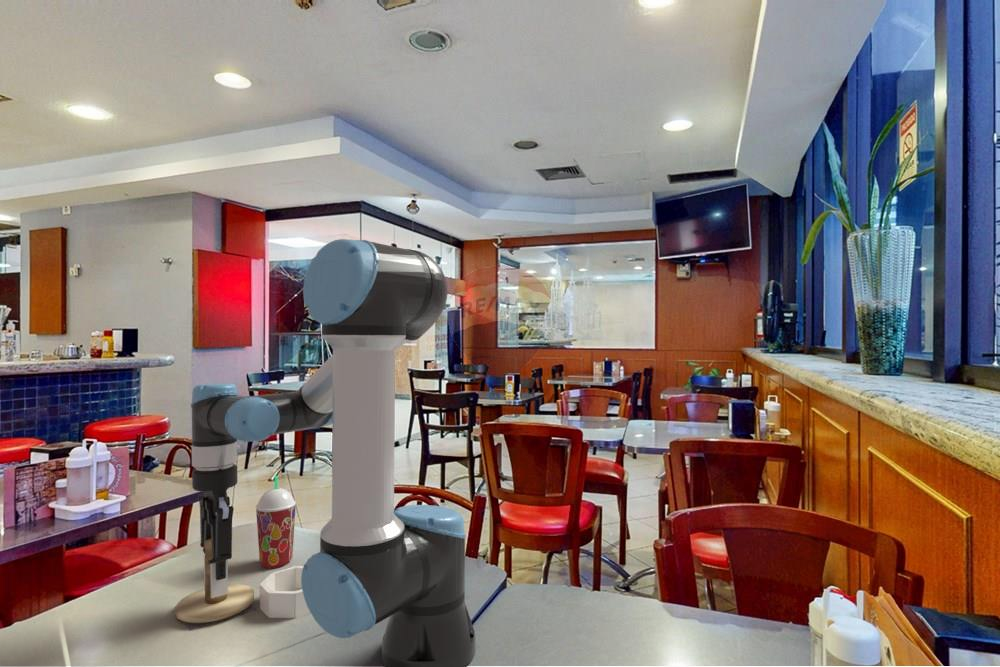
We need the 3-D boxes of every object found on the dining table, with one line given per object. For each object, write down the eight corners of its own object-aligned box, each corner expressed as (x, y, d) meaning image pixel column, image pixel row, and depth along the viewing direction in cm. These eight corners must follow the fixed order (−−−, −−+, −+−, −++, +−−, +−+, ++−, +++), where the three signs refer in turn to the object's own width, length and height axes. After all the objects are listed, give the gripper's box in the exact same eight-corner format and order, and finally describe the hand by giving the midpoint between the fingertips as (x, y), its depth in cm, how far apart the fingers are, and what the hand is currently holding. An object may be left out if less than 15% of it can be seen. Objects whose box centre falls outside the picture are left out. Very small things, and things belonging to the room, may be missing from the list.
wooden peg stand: (264, 605, 101) (263, 540, 101) (185, 631, 92) (184, 560, 93) (241, 582, 111) (241, 523, 111) (168, 604, 102) (167, 540, 102)
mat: (255, 611, 102) (255, 608, 102) (189, 633, 94) (189, 630, 94) (237, 591, 110) (237, 588, 110) (174, 610, 102) (174, 607, 102)
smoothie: (302, 558, 126) (302, 472, 126) (284, 574, 118) (284, 481, 118) (268, 557, 127) (268, 471, 127) (248, 572, 119) (248, 480, 119)
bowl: (337, 606, 104) (337, 579, 104) (275, 628, 96) (275, 599, 96) (312, 585, 112) (312, 561, 112) (253, 604, 104) (253, 578, 104)
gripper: (251, 470, 98) (251, 600, 98) (223, 456, 111) (224, 572, 110) (205, 477, 93) (205, 614, 93) (181, 462, 106) (182, 583, 105)
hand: (215, 591), depth 102 cm, fingers closed on wooden peg stand, 3 cm apart
